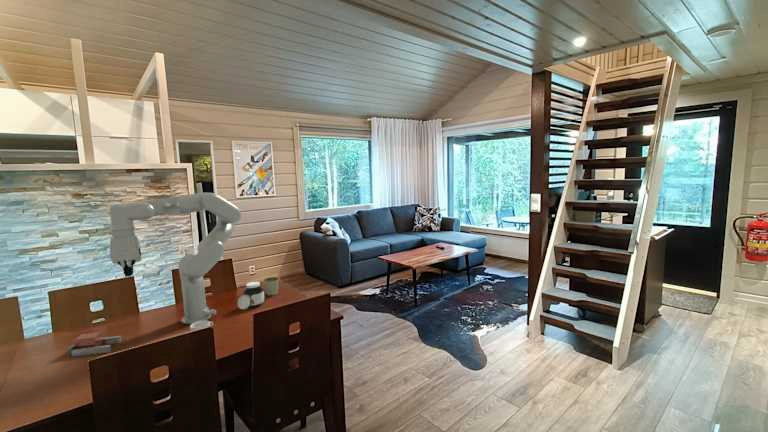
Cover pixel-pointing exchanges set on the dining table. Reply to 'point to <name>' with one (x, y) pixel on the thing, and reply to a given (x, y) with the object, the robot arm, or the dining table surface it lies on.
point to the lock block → (88, 340)
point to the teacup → (200, 325)
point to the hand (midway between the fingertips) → (129, 275)
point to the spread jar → (251, 296)
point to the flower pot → (271, 285)
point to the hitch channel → (94, 350)
